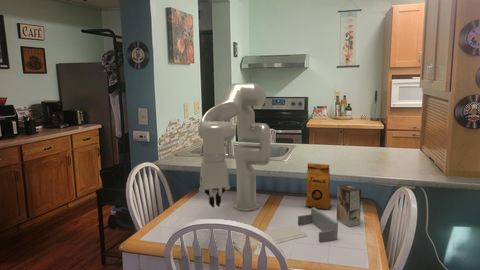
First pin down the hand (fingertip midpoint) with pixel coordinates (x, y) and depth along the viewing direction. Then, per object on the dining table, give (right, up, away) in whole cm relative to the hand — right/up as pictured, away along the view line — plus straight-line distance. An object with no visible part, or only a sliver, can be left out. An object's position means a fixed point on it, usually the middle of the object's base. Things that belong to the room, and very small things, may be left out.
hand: (215, 205), depth 136 cm
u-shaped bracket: (+41, -14, +16) cm, 46 cm away
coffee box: (+58, -13, +26) cm, 64 cm away
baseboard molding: (+21, -16, +10) cm, 29 cm away
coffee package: (+49, -10, +46) cm, 68 cm away
